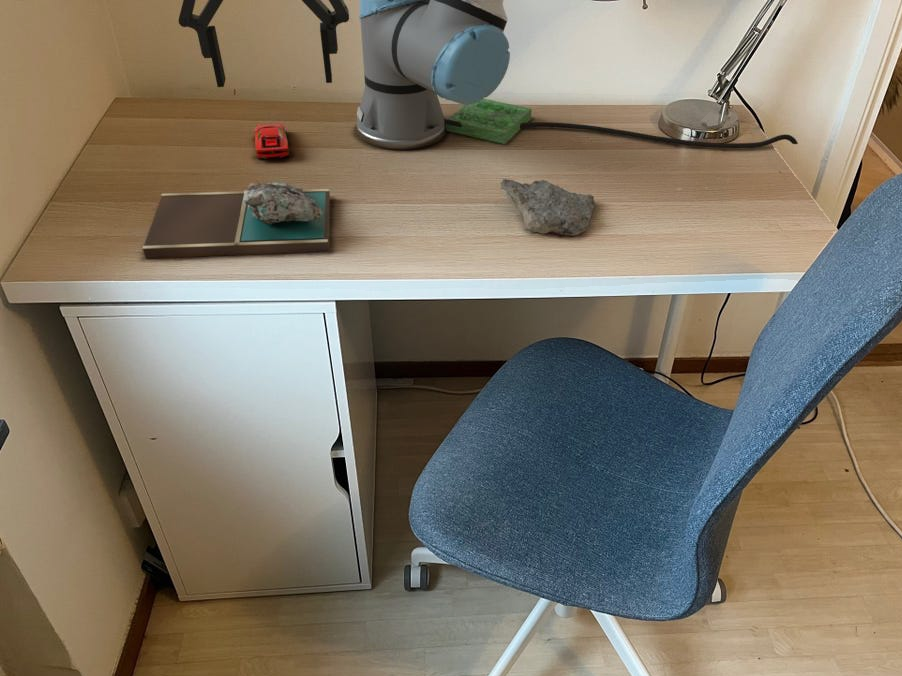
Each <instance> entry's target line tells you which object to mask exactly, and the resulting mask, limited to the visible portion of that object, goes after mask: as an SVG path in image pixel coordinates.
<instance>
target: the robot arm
mask: <svg viewBox="0 0 902 676" xmlns="http://www.w3.org/2000/svg"><path fill="white" fill-rule="evenodd" d="M196 1H197V0H183V1H182V5H181V8H180V12H179V16H178V24H179V26H180V27H182V28H190V29H193V30H194V31H195V32H196V34H197V38H198V42H199V47H200V51H201V52H200V53H201V55H202V57H203V58H204V59H211V63H212V68H213V73H214V76H215V82H216V86H217V88H224V87H225V83H226V73H225V69H224V64H223V59H222V54H221V49H220V44H219V39H218V35H217V29H216V26H215V25H210V24H211V21H213V18H214V17H215V15H216V13H217V11H218V10H219V8H220V7H221V5H222V3H223V2H224V0H207V2H205V5H204V7H203V8H202V10H201V12H200V13H199V15H197V14H194V13H193V12H194V10H195V5H196ZM301 1H302V3H303V4H305V6H306V7H307V8H308V9H309V10H310V11H311V12H312V13H313V14H314V16H316V17H317V18H318V19H319V21H320V22H319V33H320V41H321V43H320V44H321V51H322V59H323V69H324V75H325V83H326V84H333V74H332V64H331V63H332V62H331V55H337V54H338V50H339V46H338V35H337V27H338V26H339V25H340V24H343V23H348V22H349V21H350V10H349V8H348V6H347V4H346V2H345V0H328V1H329V3H330V5H331V6H332V8H333V11H332V10H331V9H330V8H329V7H328V6H327V5H326V4H325V3H324V2H323V1H322V0H301ZM504 1H505V0H360V1H359V17H358V18H359V20H360V30H361V46H362V60H363V62H362V63H363V75H364V76H363V77H364V89H363V93H362V97H361V101H360V105H359V106H358V107H357V111H356V116H357V117H356V132H357V135H358V137H359V138H360V139H361V140H362V141H363V142H365V143H367V144H370V145H372V146H375V147H378V148H383V149H387V150H413V149H415V150H416V149H421V148H424V147H428V146H430V145H431V146H432V145H433V144H436V143H437V142H439V141H441V139H443V137H445V134H446V124H448V125H453V126H457V127H462V124H461V123H462V122H458V121H453V120H449V119H448V118H445V116H444V115H445V114H444V111H443V109H442V105H441V103H440V100H439V98H441V99H445V100H446V101H452V102H454V103H457V104H459V105H465V104H474V103H477V102H479V101H481V100H482V99H483V98H484V99H486V98H488V97H489V96H491V95H492V94H493V93H494V92H495V91H496V90H497V89H498V87H499V86H500V84H501V83H502V81H503V79H504V78H505V76H506V74H507V71H508V68H509V65H510V60H511V52H510V51H509V49H510V43H509V40H508V38H507V36H506V35H505V33H504V31H505V29H506V26H507V23H508V16H507V13H506V10H505V8H504ZM520 128H521V129H526V128H527V129H528V128H556V129H557V128H558V129H559V128H560V129H570V130H571V129H573V130H582V131H592V132H599V133H605V134H611V135H618V136H625V137H629V138H630V137H631V138H636V139H643V140H647V141H653V142H660V143H666V144H674V145H679V146H680V145H681V146H690V147H697V148H698V147H699V148H709V149H710V148H711V149H756V148H762V147H766V146H769V145H772V144H774V143H778V142H779V141H783V140H786V141H788V142H790V143H791V144H793V145H798V140H797V139H796V138H795V137H794V136H793V135H790V134H779V135H776V136H774V137H771V138H769V139H766V140H762V141H758V142H756V141H755V142H740V143H739V142H738V143H737V142H736V143H735V142H734V143H732V142H707V141H697V140H688V139H681V138H672V137H666V136H658V135H652V134H646V133H642V132H634V131H630V130H624V129H616V128H611V127H610V128H609V127H603V126H597V125H589V124H579V123H570V122H569V123H567V122H556V121H555V122H551V121H549V122H548V121H532V122H530V121H528V122H527V123H521V124H520Z"/></svg>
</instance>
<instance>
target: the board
mask: <svg viewBox="0 0 902 676" xmlns="http://www.w3.org/2000/svg"><path fill="white" fill-rule="evenodd" d="M302 190H303V194H304V195H306V196H308V197H309V198H310V199H312V200H314V201H315V204H316V206H319V208H321V210H322V212H323V214H322V216H321V218H320V219H315V220H312V221H296V220H292V221H281V222H275V223H273V224H265V223H264V221H260V220H259V219H257V218H255V217H253V212H252V211H251V210H250V209H249V208H248V205H247V204H245V203H244V196H245V195H244V191H245V190H242V191H239V190H238V191H213V192H212V191H211V192H209V191H206V192H174V193H172V192H171V193H161V194H160V196H161V197H160V199H159V202H158V204H157V208H156V210H155V214H154V217H153V219H152V222H151V224H150V228H149V230H148V233H147V235H146V239H145V241H144V244H143V246H142V251H143V254H144V258H145V259H167V258H198V257H220V256H251V255H275V254H299V253H324V252H325V253H329V252H330V227H331V226H330V221H331V220H330V219H331V193H330V188H315V189H309V188H308V189H302Z"/></svg>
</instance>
